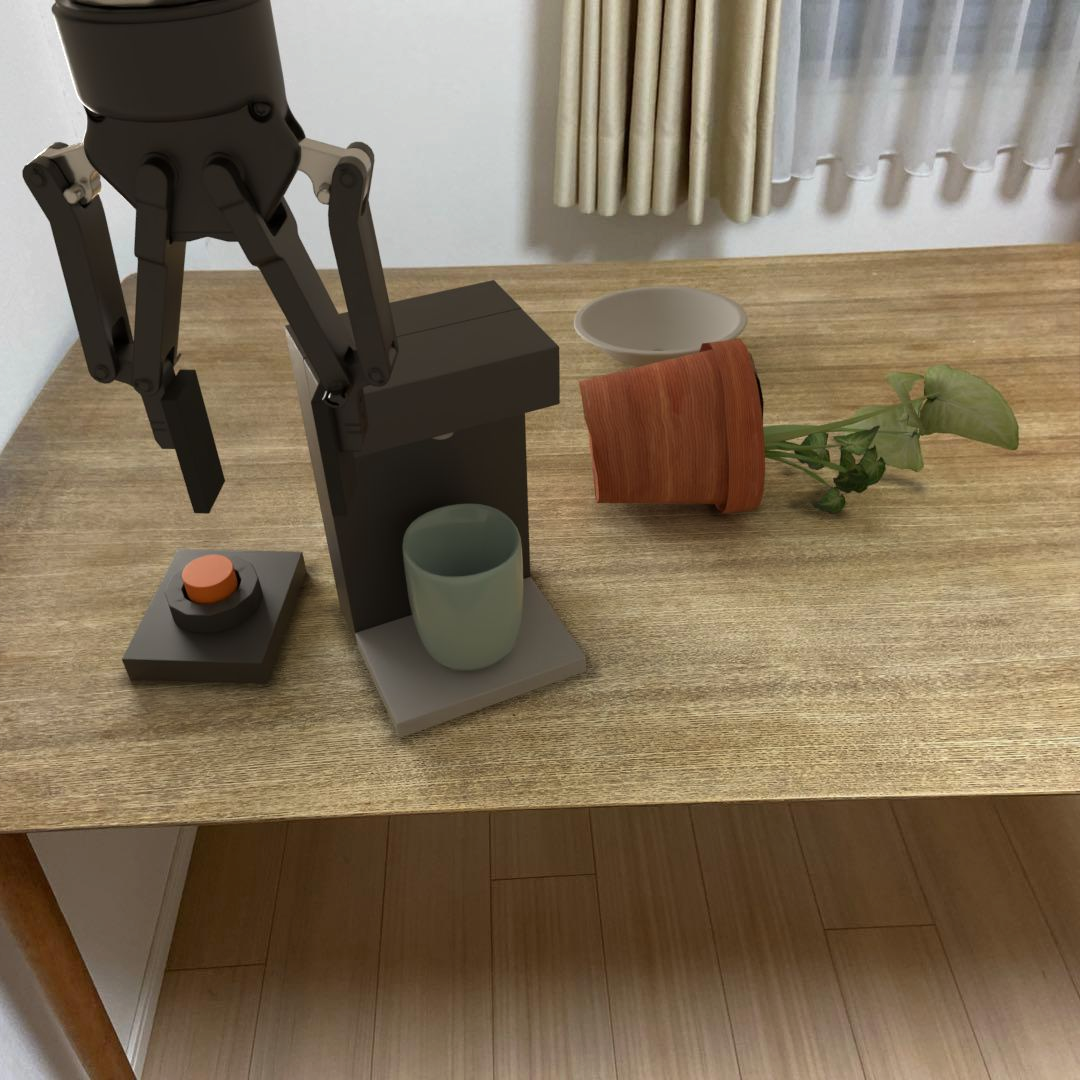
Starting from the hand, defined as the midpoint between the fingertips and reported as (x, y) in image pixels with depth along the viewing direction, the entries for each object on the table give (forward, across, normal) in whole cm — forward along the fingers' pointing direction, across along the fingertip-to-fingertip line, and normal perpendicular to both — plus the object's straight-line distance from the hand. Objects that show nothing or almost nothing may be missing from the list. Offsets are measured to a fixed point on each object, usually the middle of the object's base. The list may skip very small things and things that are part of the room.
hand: (277, 497), depth 51 cm
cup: (+22, +7, +11) cm, 25 cm away
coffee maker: (+23, +6, +13) cm, 27 cm away
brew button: (+19, -12, +14) cm, 27 cm away
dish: (+23, +22, +54) cm, 63 cm away
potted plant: (+23, +32, +32) cm, 51 cm away
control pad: (+23, -12, +14) cm, 29 cm away
